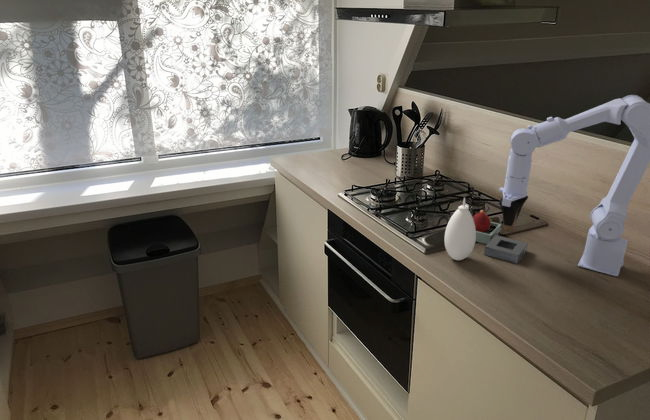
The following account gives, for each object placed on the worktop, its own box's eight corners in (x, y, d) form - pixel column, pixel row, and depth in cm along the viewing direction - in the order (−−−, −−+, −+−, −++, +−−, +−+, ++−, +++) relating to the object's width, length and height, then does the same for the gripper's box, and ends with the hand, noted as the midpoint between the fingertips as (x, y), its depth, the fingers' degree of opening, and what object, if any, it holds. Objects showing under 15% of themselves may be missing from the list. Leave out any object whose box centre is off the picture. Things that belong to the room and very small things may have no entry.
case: (500, 233, 154) (501, 224, 153) (489, 245, 146) (490, 235, 145) (469, 225, 159) (470, 216, 158) (457, 236, 152) (458, 227, 150)
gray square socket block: (526, 251, 143) (527, 243, 142) (517, 263, 136) (518, 255, 135) (494, 242, 148) (495, 234, 147) (484, 254, 141) (485, 246, 140)
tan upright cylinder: (504, 225, 141) (508, 202, 139) (516, 228, 140) (520, 205, 137) (500, 229, 139) (504, 205, 136) (512, 232, 137) (516, 208, 135)
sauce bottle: (459, 250, 144) (466, 190, 137) (478, 262, 137) (487, 199, 130) (437, 255, 140) (443, 194, 133) (455, 268, 134) (462, 204, 127)
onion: (489, 240, 149) (493, 215, 146) (469, 238, 151) (472, 213, 147) (488, 231, 155) (491, 207, 152) (468, 230, 156) (471, 205, 153)
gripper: (510, 165, 141) (503, 210, 146) (493, 179, 130) (486, 228, 135) (536, 170, 137) (528, 216, 142) (521, 185, 126) (513, 234, 131)
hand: (510, 222), depth 138 cm, fingers closed on tan upright cylinder, 3 cm apart
